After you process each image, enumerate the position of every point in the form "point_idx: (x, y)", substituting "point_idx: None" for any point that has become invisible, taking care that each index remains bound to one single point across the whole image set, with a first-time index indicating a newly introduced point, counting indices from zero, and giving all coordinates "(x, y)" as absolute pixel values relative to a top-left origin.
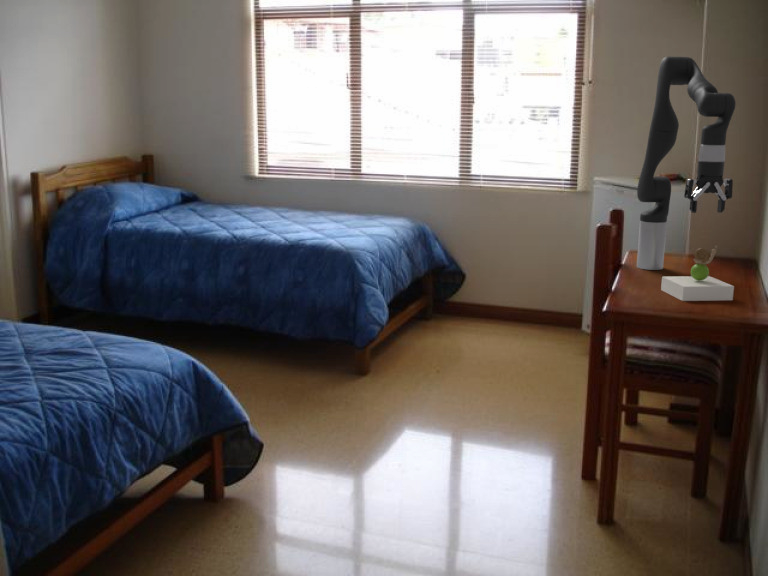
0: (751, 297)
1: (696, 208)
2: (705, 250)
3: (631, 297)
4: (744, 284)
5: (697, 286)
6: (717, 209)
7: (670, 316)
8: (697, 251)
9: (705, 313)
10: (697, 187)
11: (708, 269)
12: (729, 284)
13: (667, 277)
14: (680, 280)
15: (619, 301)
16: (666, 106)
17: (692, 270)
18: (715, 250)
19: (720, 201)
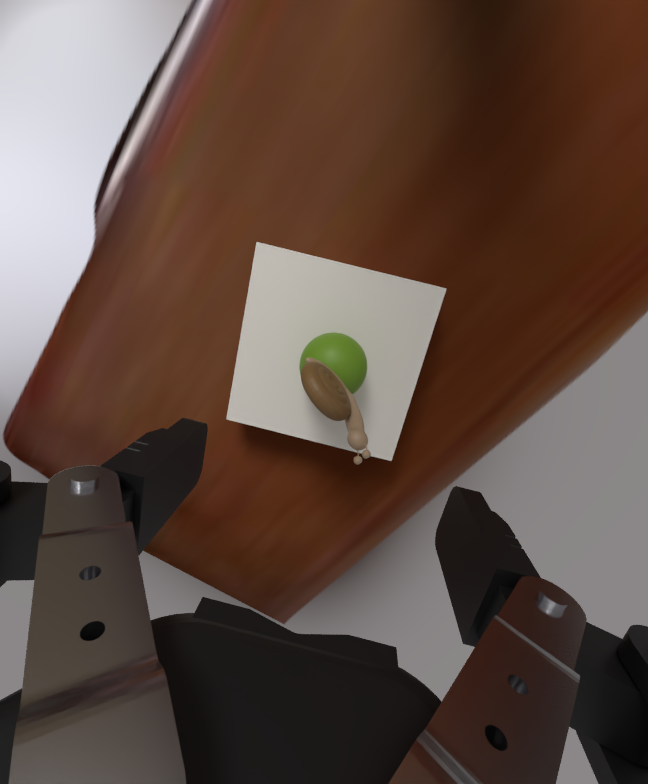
0: (472, 431)
1: (180, 503)
2: (326, 416)
3: (118, 321)
4: (639, 252)
5: (271, 430)
6: (459, 498)
7: None
8: (303, 386)
9: (215, 529)
10: (31, 648)
11: (354, 392)
12: (398, 435)
13: (265, 265)
14: (278, 330)
15: (63, 356)
16: None
17: (299, 365)
18: (357, 449)
19: (469, 611)
